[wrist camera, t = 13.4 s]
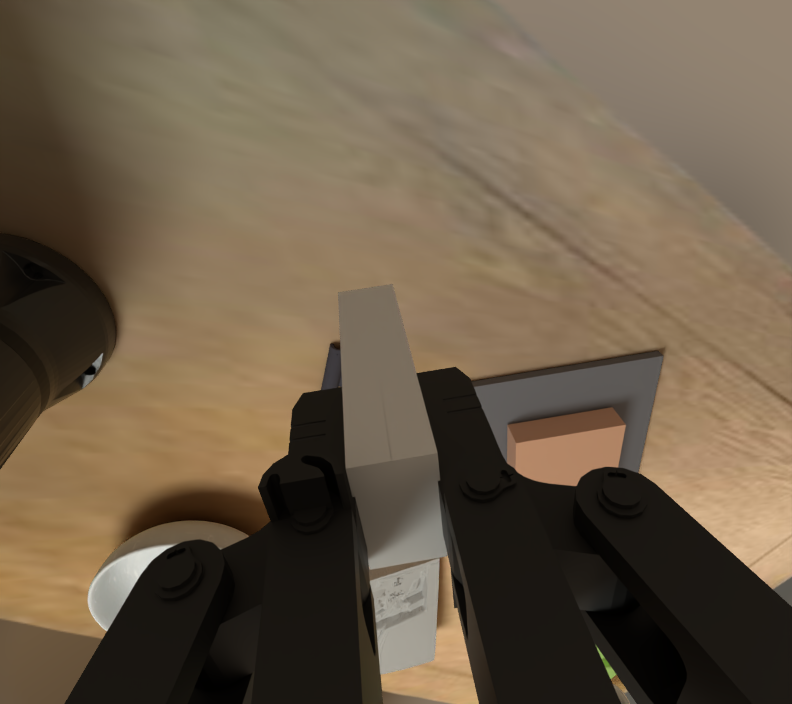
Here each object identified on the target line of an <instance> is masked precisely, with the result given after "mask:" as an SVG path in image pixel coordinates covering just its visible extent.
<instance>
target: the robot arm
mask: <svg viewBox="0 0 792 704" xmlns="http://www.w3.org/2000/svg"><path fill="white" fill-rule="evenodd" d="M338 301H339V325H340V348H341V371H342V387H338V388H332V389H326V390H320V391H314V392H307V393H303V394H302V395H301V397H300V398H299V400H298V402H297V403H296V405H295V406H294V408H293V409H292V420H291V430H290V443H289V451H288V455H286V456H285V457H283V458H282V459H280V460H278V461H277V462H275V463H273V464H272V466H271V467H270V468H269V469H268V470H267V471H266V472H265V473H264V474H263V476H262V479H261V481H260V484H259V486H258V489H259V492H260V494H261V497H262V500H263V502H264V505H265V507H266V510H267V512H268V515H269V518H270V520H271V521H270V522H269V523H268V524H267V525H266V526H264V527H263V528H262V529H261V530H260V531H258V532H256V533H254V534H253V535H251V536H249V537H247V538H245V539H243V540H241V541H238V542H236V543H234V544H232V545H230V546H228V547H225V548H223V549H221V550H220V549H219V548H218V547H217V546H216V545H215V544H214V543H213V542H209V541H205V540H201V539H197V540H190V541H183V542H181V543H179V544H177V545H174V546H172V547H170V548H168V549H166V550H165V551H164V552H162V553H161V554H160V555H158V556H157V557H156V558H154V559H153V560H152V561H151V562H150V564H149V565H148V566H147V567H146V569H145V570H144V571H143V572H142V574H141V575H140V576H139V578H138V580H137V582H136V583H135V585H134V587H133V588H132V590H131V592H130V593H129V595H128V597H127V599H126V600H125V602H124V604H123V605H122V607H121V609H120V610H119V612H118V614H117V615H116V617H115V619H114V621H113V622H112V624H111V626H110V627H109V629H108V631H107V632H106V634H105V636H104V638H103V639H102V641H101V643H100V644H99V646H98V648H97V649H96V651H95V653H94V655H93V656H92V658H91V660H90V661H89V663H88V665H87V666H86V668H85V670H84V671H83V673H82V675H81V677H80V678H79V680H78V682H77V683H76V685H75V687H74V688H73V690H72V692H71V694H70V695H69V697H68V699H67V700H66V702H65V704H383V699H382V687H381V675H380V664H379V652H378V640H377V629H376V617H375V606H374V597H373V593H372V589H371V585H370V577H369V568H370V570H372V569H377V568H383V567H388V566H394V565H400V564H405V563H411V562H417V561H422V560H428V559H434V558H439V557H445V556H447V554H448V558H449V562H450V567H451V577H452V588H453V599H454V608H458V612H459V617H460V621H461V626H462V630H463V634H464V639H465V643H466V648H467V652H468V657H469V661H470V665H471V670H472V674H473V679H474V683H475V688H476V692H477V696H478V701H479V704H621V702H620V699H619V697H618V695H617V693H616V690H615V688H614V686H613V684H612V681H611V679H610V677H609V675H608V672H607V670H606V668H605V665H604V663H603V661H602V659H601V656H600V654H599V652H598V650H597V648H598V649H599V650H600V652H601V653H602V655H603V656H604V657H605V659H606V660H607V662H608V663H609V665H610V666H611V667H612V669H613V670H614V672H615V673H616V675H617V676H618V677H619V679H620V680H621V682H622V683H623V685H624V686H625V687H626V689H627V690H628V692H629V693H630V695H631V696H632V697H633V699H634V700H635V702H636V703H637V704H792V607H791V606H790V605H789V604H788V603H787V602H786V601H785V600H783V599H782V598H781V597H780V596H779V595H778V594H777V593H776V592H775V591H774V590H773V589H771V588H770V587H769V586H768V585H767V584H766V583H765V582H764V581H763V580H761V579H760V578H759V577H758V576H757V575H756V574H755V573H754V572H753V571H751V570H750V569H749V568H748V567H747V566H746V565H745V564H744V563H743V562H741V561H740V560H739V559H738V558H737V557H736V556H735V555H734V554H733V553H731V552H730V551H729V550H728V549H727V548H726V547H725V546H724V545H723V544H722V543H720V542H719V541H718V540H717V539H716V538H715V537H714V536H713V535H712V534H710V533H709V532H708V531H707V530H706V529H705V528H704V527H703V526H702V525H700V524H699V523H698V522H697V521H696V520H695V519H694V518H693V517H692V516H690V515H689V514H688V513H687V512H686V511H685V510H684V509H683V508H682V507H680V506H679V505H678V504H677V503H676V502H675V501H674V500H673V499H672V498H671V497H669V496H668V495H667V494H666V493H665V492H664V491H663V490H662V489H661V488H659V487H658V486H657V485H656V484H655V483H653V482H652V481H650V480H649V479H647V478H646V477H644V476H643V475H642V474H639V473H637V472H634V471H631V470H628V469H625V468H618V467H602V468H598V469H593V470H591V471H589V472H588V473H586V474H585V475H583V476H582V477H581V478H580V480H579V482H578V484H577V486H570V485H559V484H549V483H543V482H538V481H534V480H532V479H529V478H527V477H524V476H523V475H521V474H519V473H518V472H517V471H516V469H515V468H513V467H512V466H510V465H509V464H507V462H506V460H505V459H504V457H503V455H502V453H501V451H500V448H499V446H498V443H497V441H496V439H495V436H494V434H493V432H492V429H491V427H490V424H489V422H488V420H487V417H486V415H485V413H484V410H483V409H482V405H481V403H480V401H479V398H478V397H477V394H476V391H475V389H474V387H473V384H472V382H471V379H470V378H469V377H468V376H466V375H465V374H464V373H463V372H461V371H460V370H459V369H458V368H456V367H452V368H446V369H440V370H433V371H427V372H421V373H416V370H415V366H414V363H413V359H412V355H411V351H410V348H409V344H408V340H407V336H406V333H405V329H404V325H403V321H402V318H401V314H400V310H399V306H398V303H397V299H396V295H395V291H394V288H393V284H390V285H383V286H377V287H371V288H364V289H358V290H351V291H345V292H338ZM115 340H116V326H115V321H114V317H113V314H112V311H111V308H110V306H109V304H108V302H107V300H106V298H105V297H104V295H103V293H102V292H101V290H100V289H99V288H98V286H97V285H96V284H95V283H94V282H93V280H92V279H91V278H90V277H89V276H88V275H87V274H86V273H85V272H84V271H83V270H81V269H80V268H79V267H78V266H77V265H75V264H74V263H73V262H71V261H70V260H68V259H67V258H66V257H64V256H62V255H61V254H59V253H57V252H56V251H54V250H52V249H50V248H48V247H46V246H43V245H41V244H39V243H36V242H34V241H31V240H28V239H24V238H21V237H17V236H12V235H7V234H0V469H1V468H2V466H3V465H4V463H5V462H6V461H7V459H8V458H9V457H10V455H11V454H12V452H13V451H14V450H15V448H16V447H17V446H18V444H19V443H20V442H21V440H22V439H23V437H24V436H25V435H26V433H27V432H28V431H29V429H30V428H31V426H32V425H33V424H34V422H35V421H36V419H37V418H38V417H39V416H40V414H41V413H42V412H43V411H45V410H46V409H48V408H50V407H52V406H53V405H55V404H57V403H59V402H61V401H62V400H64V399H66V398H68V397H69V396H71V395H73V394H75V393H76V392H78V391H80V390H81V389H83V388H84V387H86V386H87V385H88V384H90V383H91V382H92V381H93V380H94V379H95V378H96V377H97V376H98V374H99V373H100V371H101V370H102V369H103V367H104V366H105V364H106V363H107V361H108V360H109V358H110V356H111V354H112V352H113V349H114V346H115ZM596 646H597V647H596Z"/></svg>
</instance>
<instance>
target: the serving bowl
mask: <svg viewBox="0 0 792 704" xmlns="http://www.w3.org/2000/svg"><path fill="white" fill-rule="evenodd" d="M247 537H249V536H248V535H247V534H245V533H243V532H241V531H239V530H237V529H235V528H232V527H229V526H226V525H223V524H219V523H214V522H208V521H177V522H171V523H166V524H162V525H158V526H155V527H152V528H150V529H147V530H145V531H143V532H140V533H138V534H137V535H135V536H133V537H132V538H130V539H128V540H127V541H126V542H124V543H123V544H121V545H120V546H119V547H118V548H117V549H116V550H115V551H114V552H113V553H112V554H111V555H110V556H109V557H108V558H107V559H106V561H105V562H104V563H103V565H102V566H101V568H100V569H99V571H98V572H97V574H96V576H95V577H94V579H93V581H92V583H91V585H90V588H89V591H88V605H89V609H90V612H91V614H92V616H93V617H94V619H95V620H96V621H97V622H98V624H99V625H100V626H101V627H102V628H103V629H104V630H106V631H108V629H109V627H110V626H111V624H112V622H113V621H114V619H115V617H116V615H117V614H118V612H119V610H120V609H121V607H122V605H123V604H124V602H125V600H126V599H127V597H128V595H129V593H130V592H131V590H132V588H133V587H134V585H135V583H136V582H137V580H138V578H139V576H140V575H141V574H142V572H143V571H144V570H145V569H146V567H147V566H148V565H149V564H150V562H151V561H152V560H153V559H154V558H156V557H157V556H158V555H160V554H161V553H162V552H164V551H165V550H166V549H168V548H170V547H172V546H174V545H177V544H179V543H181V542H183V541H190V540H197V539H201V540H205V541H209V542H213V543H214V544H215V545H216V546H217V547H218V548H219V549H220V550H221V549H223V548H225V547H228V546H230V545H232V544H234V543H236V542H238V541H241V540H243V539H245V538H247Z"/></svg>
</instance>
